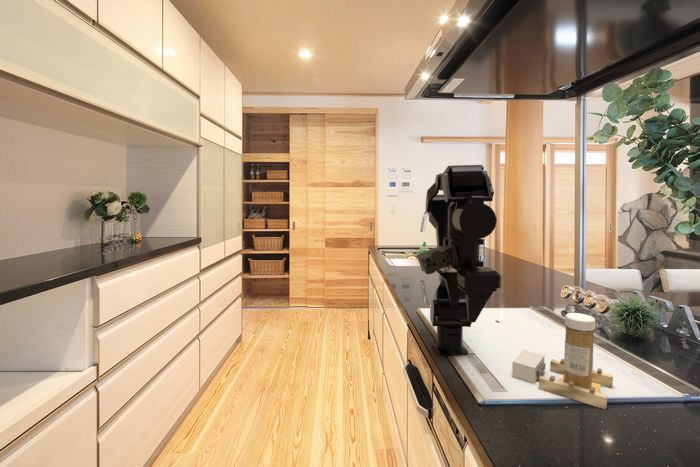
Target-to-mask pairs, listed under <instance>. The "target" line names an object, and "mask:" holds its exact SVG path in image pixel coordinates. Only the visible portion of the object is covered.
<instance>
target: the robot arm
mask: <svg viewBox="0 0 700 467" xmlns="http://www.w3.org/2000/svg"><path fill="white" fill-rule="evenodd" d="M440 191H442V193H443V194H439V192H440ZM494 193H495V191H494V188H493V185H492V181H491V178H490V177H489V174H488V171H487V170H485V167H484V166H483V165H482V164H464V165H463V164H462V165H460V164H458V165H455V164H454V165H447V167H446V168H445V169H444V171H443V172H441V173H439V174H436V175H435V180H434V183H433V184H432V185H431V186H430V187H428V188H427V191H426V195H425V196H426V197H425V213H426V214H427V216H428V221H429V223H430V224H431V226H433V228H434V229H435V237H436V247H434V248H431V249H429V250H426V251H424V252H422V253H421V252H420V253H418V254H417V255H416V258H417V261H418V264H419V265H420V268H421V272H424V273H425V275H431V274H434V273H435V272H436V273H437V274H438V275H439V277H438V278H439V285H438V287H437V289H436V291H435V292H434V295H433V299H432V300H431V305H430V310H429V312H430V313H429V315H430V316H429V317H430V319H429V320H430V323H431V325H432V326H431V327H436V341H432V342H431V343H432V346H433V347H434V349H435V350H436V351H437V353H438V355H439V356H452V355H451V354H459V355H468V354H469V351H468V350H467V349H466V347H464V346H463V339H464V338H463V330H464V328H465V327H466V328H471V327H472V323H476V322H477V320H478V318H479V317H480V315H481V313H482V312H483V309H484V307H485V306H486V304H487V302H488V301H489V299H490V298H491V296H492V294H494V292H497V289H501V288H502V275H501V274H500V273H498V271H497V270H494V269H492V268H490V267H488V266H485V267H484V261H483V260H480V247H481V246H484V244H485V240H484V238H487V237H488V236H489V235H491V234H492V233H493V231H494V230H495V228H496V226H497V222H498V220H497V216H496V212H494V210H493V208H492V207H490V206H489V205H488V204H486V203H485V202H493V197H494ZM463 327H464V328H463Z"/></svg>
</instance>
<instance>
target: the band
mask: <svg viewBox="0 0 700 467" xmlns="http://www.w3.org/2000/svg"><path fill="white" fill-rule="evenodd" d="M563 380H564V374H562V376H561V378H560V380H559V381H561V382H563ZM601 386H602V385H601V384H598V383H594V382H592V387H593V388H595V392H599V393H600V390H601V388H602V387H601Z"/></svg>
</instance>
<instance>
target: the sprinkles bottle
mask: <svg viewBox="0 0 700 467" xmlns="http://www.w3.org/2000/svg"><path fill="white" fill-rule="evenodd" d="M596 324H597V323H596V318H595V317H594V316H592V315H588V314H585V313H580V312H579V313H578V312H571V313H569V312H568V313H566V314H565V316H564V325H565V326H564V327H565V336H564V337H565V340H564V357H563V359H564V374H563V375H564V380H563V382H565V383H568V384H569V383H570V381H573V382H574V385H575V386H578V387H582V388H585V389H589V390H590V388H591V387H592V373H593V370H594V343H595V342H594V340H595V339H594V338H595V336H594V334H595V330H596Z"/></svg>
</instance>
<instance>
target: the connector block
mask: <svg viewBox="0 0 700 467" xmlns="http://www.w3.org/2000/svg"><path fill="white" fill-rule="evenodd" d="M545 359H546V357H545V354H541V353H537V352H533V351H529V350H526V349H522V351H521V352H520V353H519V354H518V355H517V356H516V357H515V359H513V361H512V370H511V372H512V373H511V377H513V376H514V377H513V378H517V379H519V378H520V379H519V380H522V381H525V382H530V383H532V384H535V383H536V382H537V380H539V377H540V376H542V374H543V373H544V371H545V370H546V362H545Z"/></svg>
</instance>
